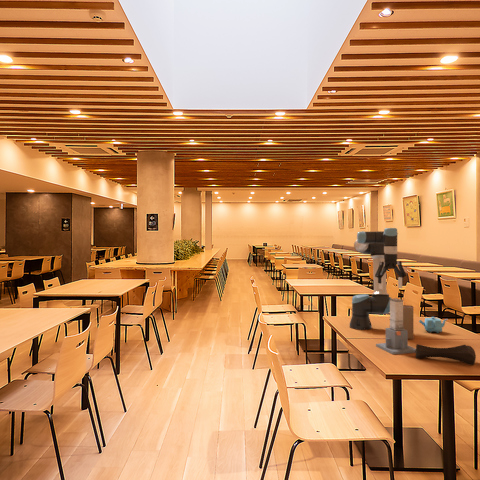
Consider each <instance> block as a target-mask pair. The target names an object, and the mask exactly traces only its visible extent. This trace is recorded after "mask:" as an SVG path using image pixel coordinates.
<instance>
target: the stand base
mask: <svg viewBox="0 0 480 480" xmlns="http://www.w3.org/2000/svg"><path fill="white" fill-rule="evenodd" d="M408 341H409V339H408V331H407V330H404V329H403V331H394V330H391V329H390V327H385V342H380V343H376V344H375V347H377V348H379V349H380V350H382V351H385V352H387V353H389V354H390V355H391V354H392V355H403V354H416V353H415V351H416V347H415V348H414V347H413V346H410V345H409V343H408Z"/></svg>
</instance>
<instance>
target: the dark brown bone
mask: <svg viewBox="0 0 480 480" xmlns="http://www.w3.org/2000/svg"><path fill="white" fill-rule="evenodd" d="M415 349H416V351H415V353H414V354H415V358H416V359H424V358H427V359H428V358H442V359H450V360H454V361H458V362H461V363H464V364H467V365H468V366H474V365H475V364H476V358H477V354H476V351H475V349H474V348H473V347H472V346H470V345H466V344H461V345H458V346H457V345H456V346H451V347H432V346H427V345H422V344H419V343H417V344H416V346H415Z"/></svg>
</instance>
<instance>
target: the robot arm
mask: <svg viewBox="0 0 480 480" xmlns="http://www.w3.org/2000/svg"><path fill="white" fill-rule="evenodd" d="M398 234H399V233H398V228H396V227H385V228H384V229H383V231H381V230H380V231H377V230H376V231H358V232H357V233H356V240H355V241H354V243H353V248H354V249H355V251H356V252H357V253H359V254H363V255H370V258H371V259H372V267H373V268H372V270H373V271H372V272H373V273H372V274H373V275H372V276H373V292H372V293H371V296H370V295H369V294H367V293H366V294H364V293H363V294H356V295H353V296H352V298H351V317H350V322H349V327H350V328H351V329H354V330H360V331H362V330H363V331H366V330H367V331H369V330H371V329H372V326H373V324H372V322H371V319H370V314H380V315H383V314H385V315H386V314H390V299H393V298H392V297H391V296H390V294H389V293H388V289H387V271H388V270H394V271H395V273H396V274H397V275H398V276H397V279H398V280H397V287H398V289H403V283H404V278H405V277H406V276H407V274H406V271H405V269H404V267H403V263H402V261H401V260H398Z"/></svg>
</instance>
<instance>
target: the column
mask: <svg viewBox="0 0 480 480" xmlns="http://www.w3.org/2000/svg"><path fill="white" fill-rule="evenodd" d="M403 305H404V299H400V298H396V297H395V298H392V299H390V313H389V327H388V328H390V329H391V330H394V331H403V328H404V327H403V321H404V320H403Z"/></svg>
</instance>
